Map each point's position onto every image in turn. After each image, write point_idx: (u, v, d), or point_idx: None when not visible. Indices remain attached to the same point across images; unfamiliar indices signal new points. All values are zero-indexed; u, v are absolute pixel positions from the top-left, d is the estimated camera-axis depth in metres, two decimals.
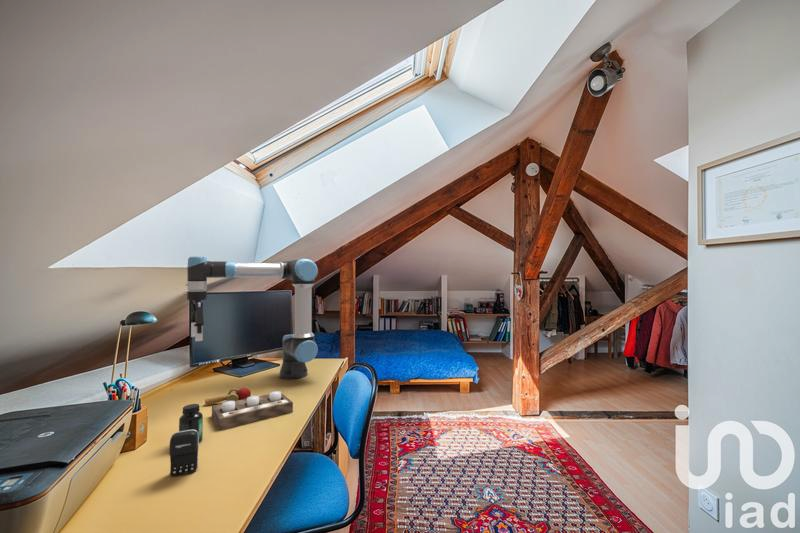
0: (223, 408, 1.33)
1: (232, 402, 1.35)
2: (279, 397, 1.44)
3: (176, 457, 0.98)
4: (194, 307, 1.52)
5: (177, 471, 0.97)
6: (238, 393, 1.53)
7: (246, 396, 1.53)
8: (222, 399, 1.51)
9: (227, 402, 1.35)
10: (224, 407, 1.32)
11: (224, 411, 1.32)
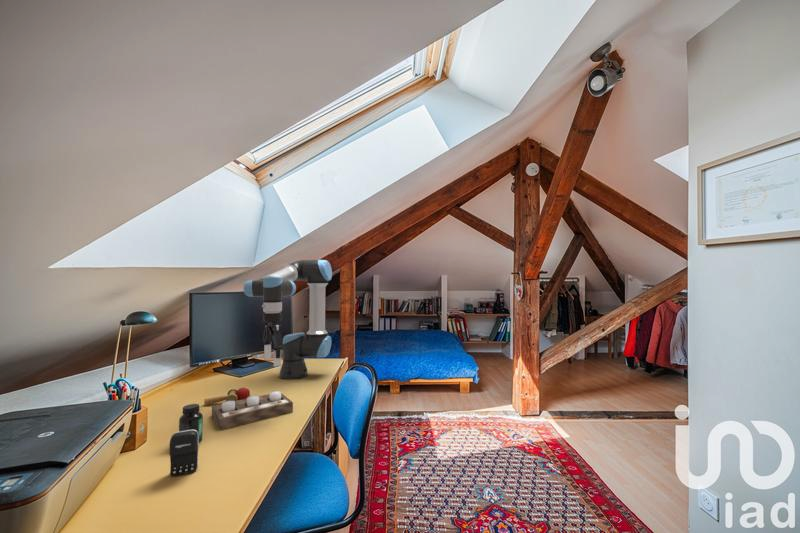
0: (223, 408, 1.33)
1: (232, 402, 1.35)
2: (279, 397, 1.44)
3: (176, 457, 0.98)
4: (271, 330, 1.44)
5: (177, 471, 0.97)
6: (237, 393, 1.53)
7: (245, 396, 1.53)
8: (221, 399, 1.51)
9: (227, 402, 1.35)
10: (224, 407, 1.32)
11: (224, 411, 1.32)
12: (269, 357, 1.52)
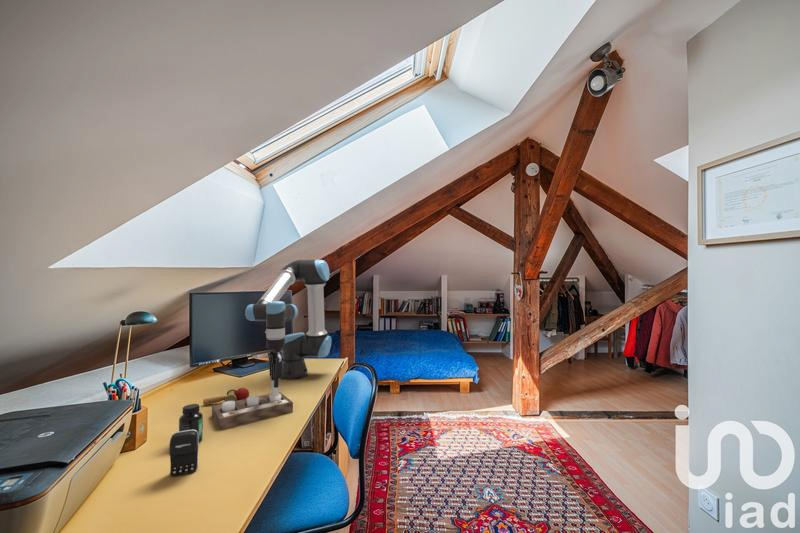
0: (223, 408, 1.33)
1: (232, 402, 1.35)
2: (279, 399, 1.44)
3: (176, 457, 0.98)
4: (273, 358, 1.44)
5: (177, 471, 0.97)
6: (236, 393, 1.52)
7: (244, 396, 1.53)
8: (220, 399, 1.51)
9: (227, 402, 1.35)
10: (224, 407, 1.32)
11: (224, 411, 1.32)
12: None
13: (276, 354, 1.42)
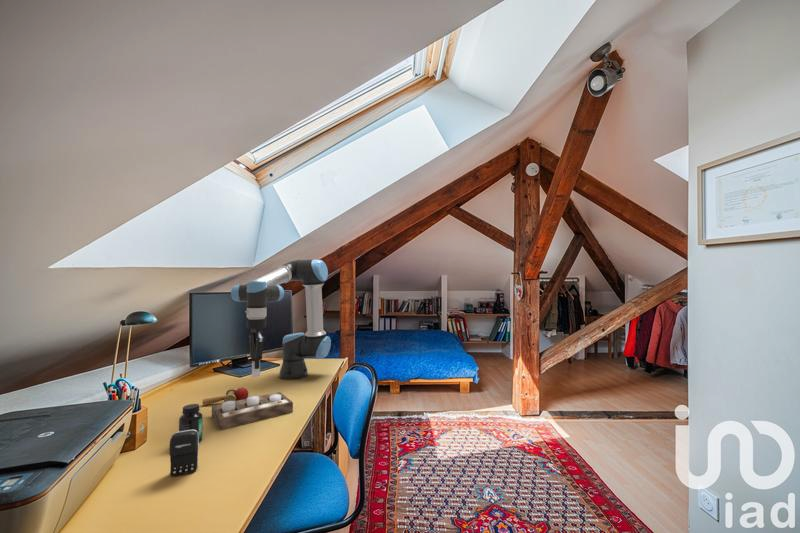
0: (223, 408, 1.33)
1: (232, 402, 1.35)
2: (279, 400, 1.44)
3: (176, 457, 0.98)
4: (254, 338, 1.39)
5: (177, 471, 0.97)
6: (236, 393, 1.52)
7: (244, 396, 1.53)
8: (220, 399, 1.51)
9: (227, 402, 1.35)
10: (224, 407, 1.32)
11: (224, 411, 1.32)
12: None
13: (257, 334, 1.38)
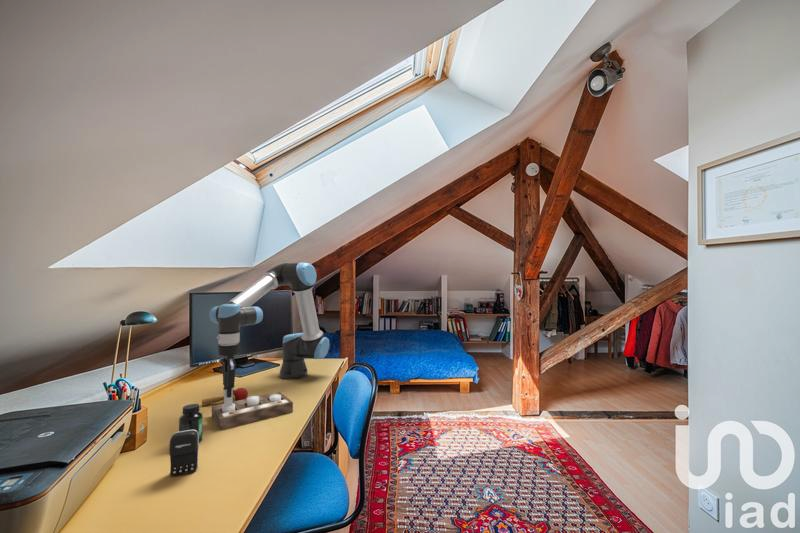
0: (223, 411, 1.32)
1: (232, 405, 1.35)
2: (279, 400, 1.44)
3: (176, 457, 0.98)
4: (226, 365, 1.33)
5: (177, 471, 0.97)
6: (235, 393, 1.52)
7: (243, 396, 1.52)
8: (219, 399, 1.51)
9: None
10: (224, 409, 1.32)
11: None
12: None
13: (228, 361, 1.31)
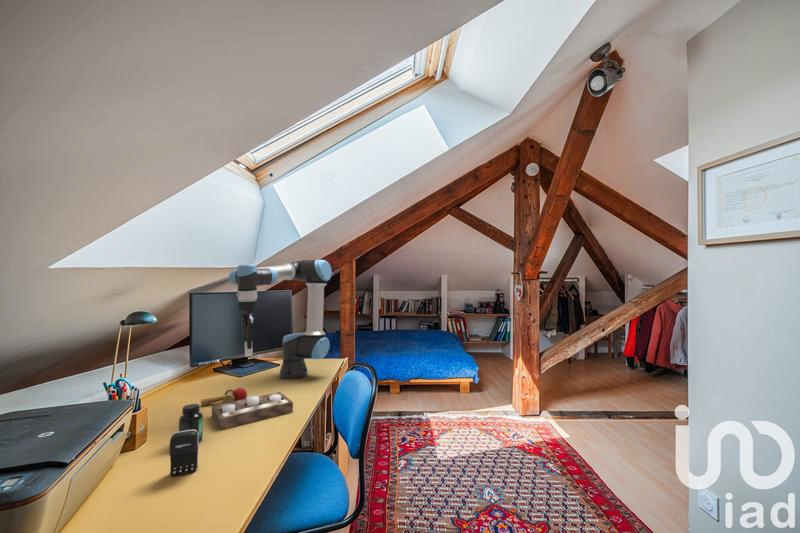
0: (223, 411, 1.32)
1: (232, 405, 1.35)
2: (279, 400, 1.44)
3: (176, 457, 0.98)
4: (245, 319, 1.45)
5: (177, 471, 0.97)
6: (234, 394, 1.52)
7: (242, 397, 1.52)
8: (218, 399, 1.51)
9: (227, 405, 1.35)
10: (224, 410, 1.32)
11: None
12: None
13: (248, 315, 1.44)
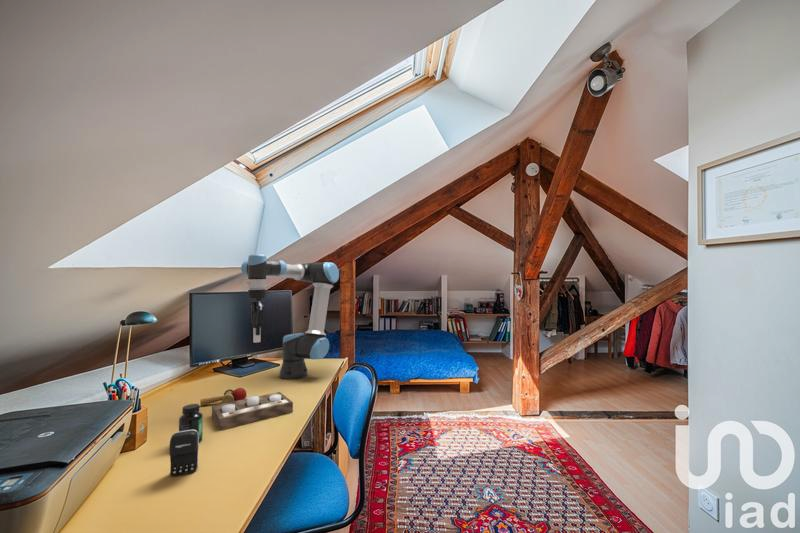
0: (223, 411, 1.32)
1: (232, 405, 1.35)
2: (279, 400, 1.44)
3: (176, 457, 0.98)
4: (255, 307, 1.52)
5: (177, 471, 0.97)
6: (233, 394, 1.52)
7: (241, 397, 1.52)
8: (217, 399, 1.51)
9: (227, 405, 1.35)
10: (224, 410, 1.32)
11: None
12: None
13: (257, 303, 1.51)
